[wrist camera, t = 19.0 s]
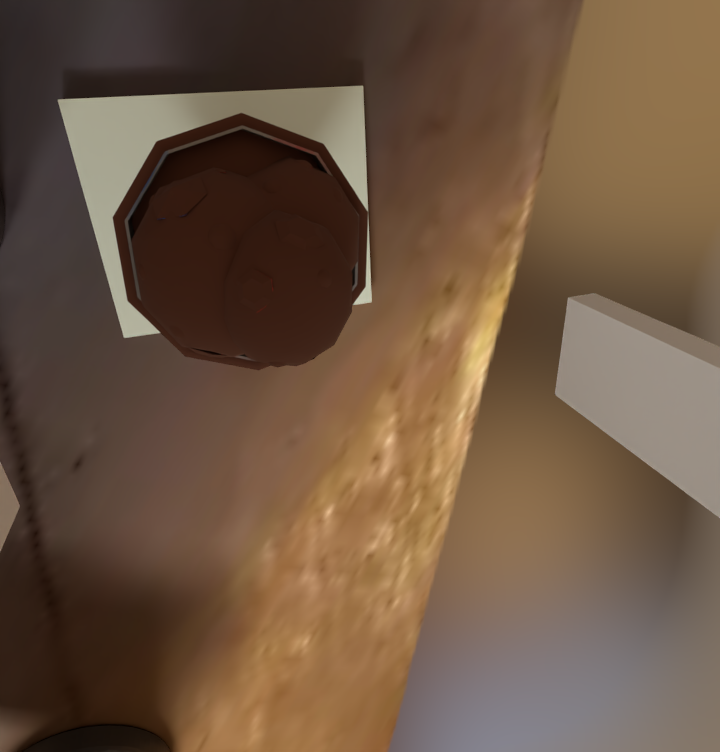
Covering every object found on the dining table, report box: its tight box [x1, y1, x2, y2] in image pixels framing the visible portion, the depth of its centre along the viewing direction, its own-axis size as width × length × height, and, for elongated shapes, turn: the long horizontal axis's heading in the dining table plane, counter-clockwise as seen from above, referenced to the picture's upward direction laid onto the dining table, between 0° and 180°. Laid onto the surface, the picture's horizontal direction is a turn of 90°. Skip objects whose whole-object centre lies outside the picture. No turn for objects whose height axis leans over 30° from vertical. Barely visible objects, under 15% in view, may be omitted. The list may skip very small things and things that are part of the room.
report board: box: [58, 86, 372, 338], centre depth 31 cm, size 16×13×1 cm
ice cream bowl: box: [113, 113, 368, 370], centre depth 24 cm, size 11×11×15 cm
